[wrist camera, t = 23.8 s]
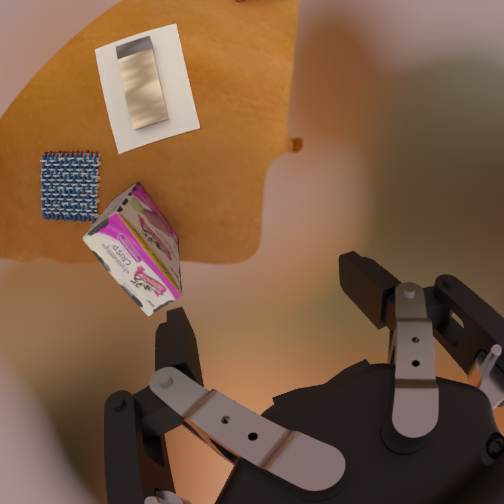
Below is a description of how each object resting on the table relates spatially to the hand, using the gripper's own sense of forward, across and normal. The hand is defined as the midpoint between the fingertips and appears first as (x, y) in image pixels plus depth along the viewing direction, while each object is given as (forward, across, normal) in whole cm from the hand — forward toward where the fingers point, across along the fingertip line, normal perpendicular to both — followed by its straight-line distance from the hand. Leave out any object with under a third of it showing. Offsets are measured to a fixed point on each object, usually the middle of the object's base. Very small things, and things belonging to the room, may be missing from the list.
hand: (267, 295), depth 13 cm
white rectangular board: (+30, -5, +16) cm, 34 cm away
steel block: (+27, -5, +10) cm, 30 cm away
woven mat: (+31, -20, +6) cm, 37 cm away
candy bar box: (+30, -10, -3) cm, 32 cm away
